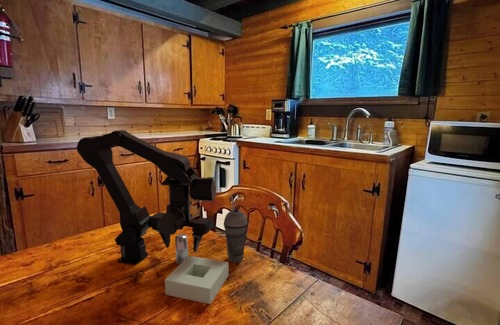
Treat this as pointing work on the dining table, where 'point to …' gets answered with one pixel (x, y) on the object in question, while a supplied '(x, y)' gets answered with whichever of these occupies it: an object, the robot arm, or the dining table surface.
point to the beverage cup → (235, 234)
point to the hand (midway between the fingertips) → (181, 249)
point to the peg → (181, 248)
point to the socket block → (197, 279)
